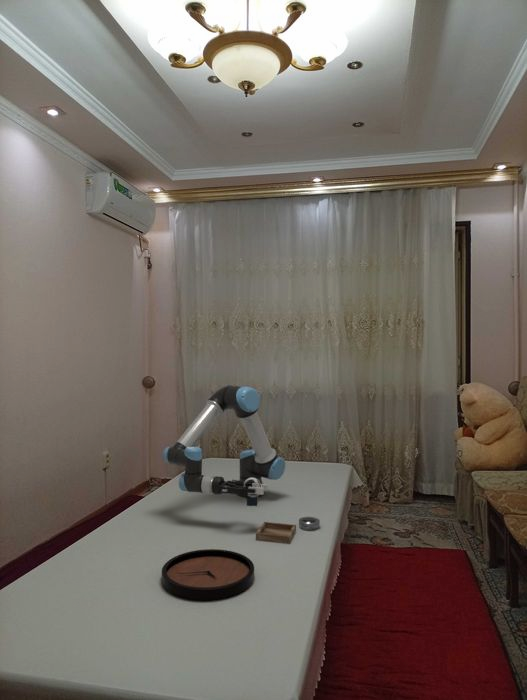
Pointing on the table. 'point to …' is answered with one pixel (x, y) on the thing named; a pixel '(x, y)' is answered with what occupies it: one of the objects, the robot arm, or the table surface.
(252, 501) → the watch
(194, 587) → the wall clock
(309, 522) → the round socket
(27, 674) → the table surface
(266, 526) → the rect wooden tray
